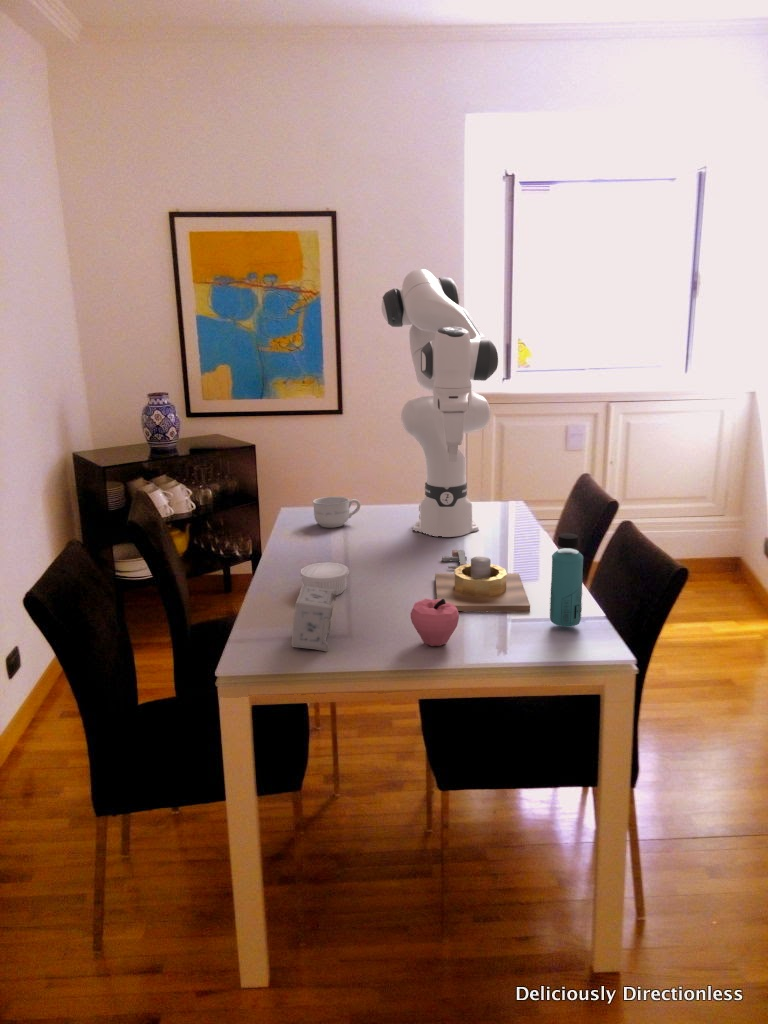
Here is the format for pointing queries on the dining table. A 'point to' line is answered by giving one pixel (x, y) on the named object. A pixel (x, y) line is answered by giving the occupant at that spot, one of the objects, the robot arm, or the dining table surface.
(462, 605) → the piston stand
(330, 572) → the ramekin
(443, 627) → the apple
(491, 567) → the wooden ring
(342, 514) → the teacup
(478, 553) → the dining table surface
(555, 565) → the beverage bottle
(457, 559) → the clamp
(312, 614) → the incense holder
